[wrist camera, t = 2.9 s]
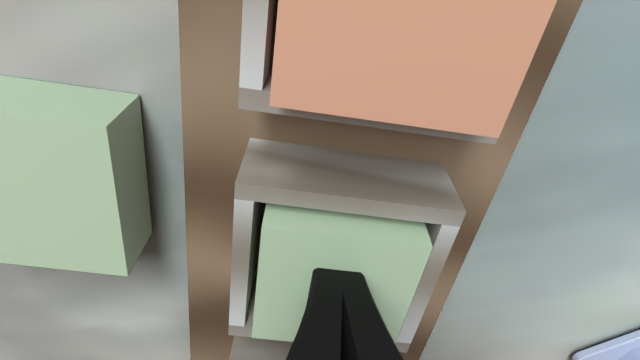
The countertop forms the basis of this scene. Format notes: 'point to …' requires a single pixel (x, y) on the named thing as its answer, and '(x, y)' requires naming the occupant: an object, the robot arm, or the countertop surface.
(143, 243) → the block
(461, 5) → the terracotta button
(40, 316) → the countertop surface
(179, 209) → the countertop surface
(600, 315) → the countertop surface
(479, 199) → the button console
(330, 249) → the sage button
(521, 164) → the countertop surface
